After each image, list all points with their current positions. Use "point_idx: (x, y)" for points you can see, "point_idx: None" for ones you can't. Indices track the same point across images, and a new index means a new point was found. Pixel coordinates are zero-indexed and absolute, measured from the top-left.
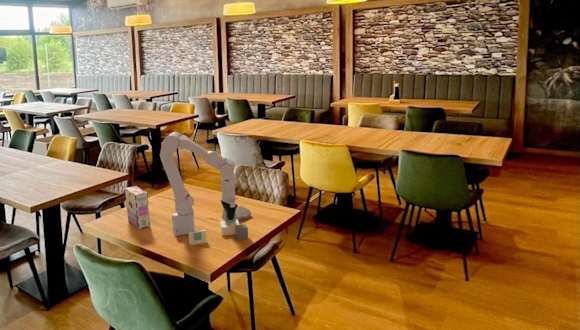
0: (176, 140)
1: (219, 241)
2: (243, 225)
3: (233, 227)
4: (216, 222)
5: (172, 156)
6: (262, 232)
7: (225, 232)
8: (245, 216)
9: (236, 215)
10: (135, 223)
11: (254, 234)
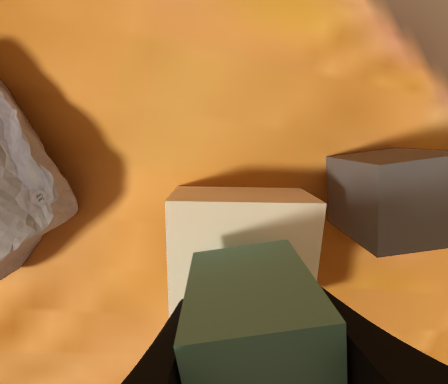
0: None
1: (367, 311)
2: (409, 184)
3: (316, 250)
4: (73, 309)
5: None
6: (331, 19)
7: None
8: (14, 106)
9: (17, 188)
10: None
11: (345, 90)
